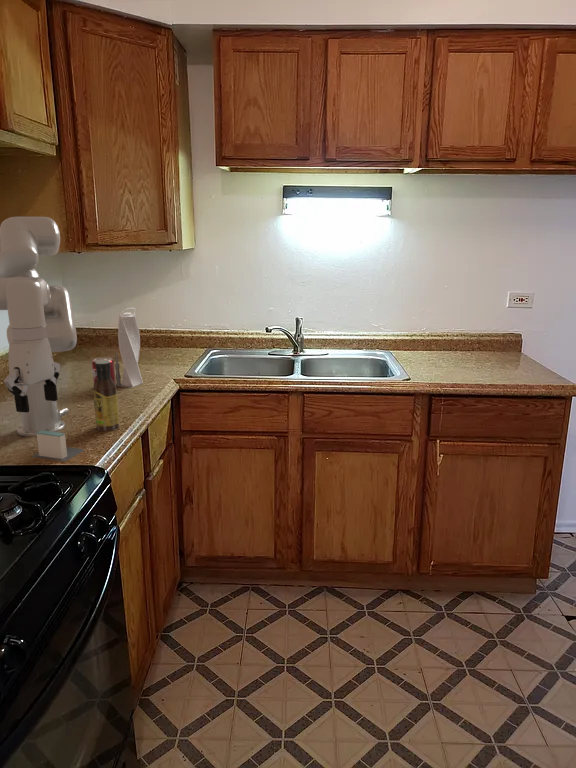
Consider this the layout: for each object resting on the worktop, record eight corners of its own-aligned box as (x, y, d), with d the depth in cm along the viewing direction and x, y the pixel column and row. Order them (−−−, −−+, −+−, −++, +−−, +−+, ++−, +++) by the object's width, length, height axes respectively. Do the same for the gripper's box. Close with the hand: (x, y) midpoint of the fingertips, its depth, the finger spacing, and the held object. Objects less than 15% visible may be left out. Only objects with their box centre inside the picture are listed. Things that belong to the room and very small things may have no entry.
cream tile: (67, 456, 144) (64, 433, 142) (62, 459, 142) (59, 435, 140) (44, 453, 146) (41, 430, 144) (39, 455, 144) (36, 432, 142)
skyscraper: (130, 381, 216) (125, 306, 209) (148, 383, 213) (142, 307, 205) (115, 386, 209) (108, 309, 201) (132, 389, 205) (126, 310, 198)
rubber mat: (53, 447, 151) (53, 445, 151) (85, 451, 148) (85, 449, 148) (31, 458, 144) (31, 456, 144) (64, 463, 141) (64, 461, 141)
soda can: (107, 397, 195) (104, 362, 192) (89, 395, 197) (86, 361, 194) (120, 391, 202) (118, 358, 198) (103, 389, 204) (100, 356, 201)
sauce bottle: (94, 428, 165) (88, 360, 160) (117, 424, 168) (111, 357, 163) (99, 435, 160) (92, 365, 155) (122, 431, 163) (116, 362, 157)
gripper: (41, 328, 142) (49, 395, 146) (-14, 340, 126) (-3, 415, 130) (67, 329, 140) (74, 397, 144) (14, 341, 123) (24, 417, 128)
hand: (37, 406), depth 137 cm, fingers open, 9 cm apart
